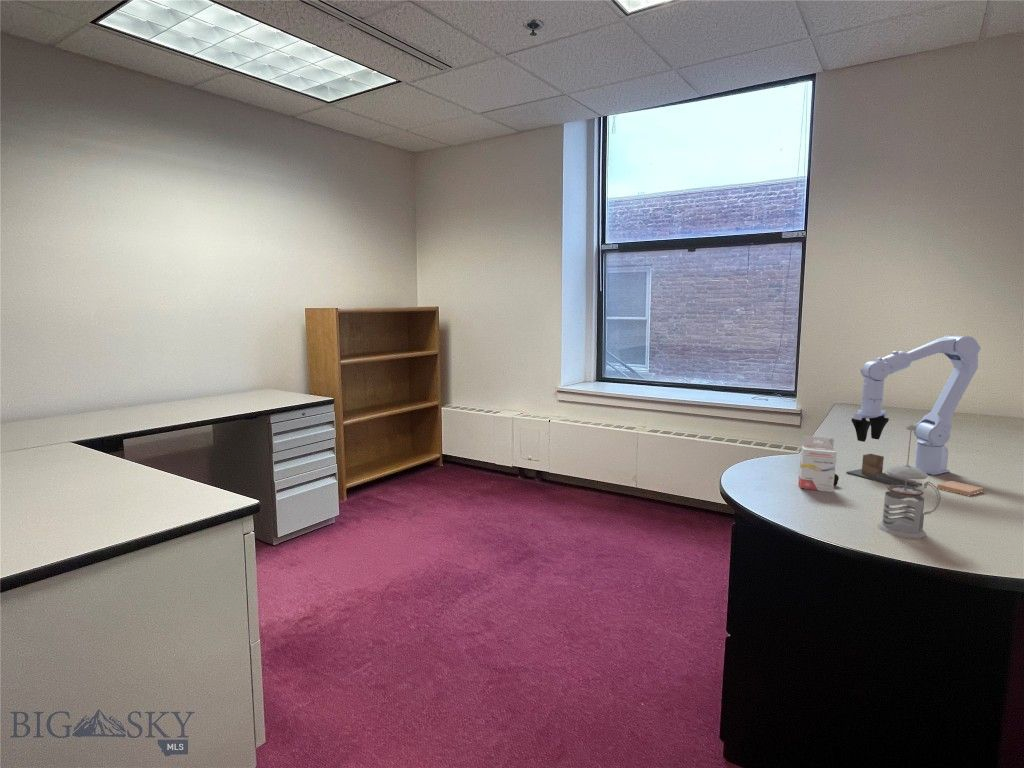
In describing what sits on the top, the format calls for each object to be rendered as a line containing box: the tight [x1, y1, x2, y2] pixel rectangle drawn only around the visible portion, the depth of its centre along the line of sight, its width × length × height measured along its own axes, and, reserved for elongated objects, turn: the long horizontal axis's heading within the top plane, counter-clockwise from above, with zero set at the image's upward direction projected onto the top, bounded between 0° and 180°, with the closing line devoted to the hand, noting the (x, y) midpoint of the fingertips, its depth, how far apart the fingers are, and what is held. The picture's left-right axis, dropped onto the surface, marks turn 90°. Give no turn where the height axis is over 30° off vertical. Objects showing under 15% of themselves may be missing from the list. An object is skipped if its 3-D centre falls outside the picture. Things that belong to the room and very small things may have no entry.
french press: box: [876, 424, 942, 539], centre depth 136 cm, size 10×12×25 cm
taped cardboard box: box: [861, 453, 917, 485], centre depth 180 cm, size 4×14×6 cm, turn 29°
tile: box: [936, 480, 984, 496], centre depth 171 cm, size 8×2×8 cm
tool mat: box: [845, 468, 923, 488], centre depth 181 cm, size 8×18×1 cm, turn 28°
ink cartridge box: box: [797, 435, 837, 493], centre depth 170 cm, size 9×5×15 cm, turn 71°
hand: (868, 439), depth 193 cm, fingers open, 7 cm apart
